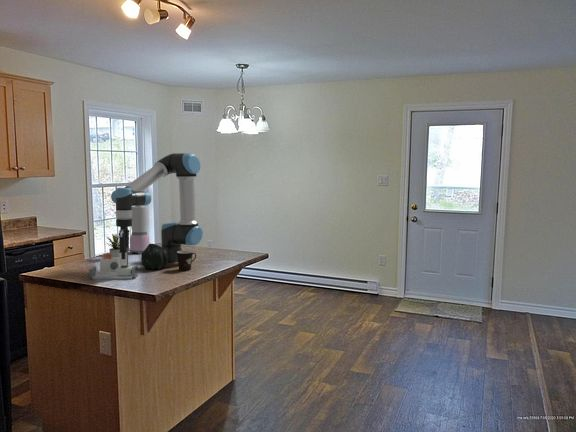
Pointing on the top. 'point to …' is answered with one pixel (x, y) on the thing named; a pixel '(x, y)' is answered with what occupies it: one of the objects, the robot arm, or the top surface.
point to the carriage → (124, 268)
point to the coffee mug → (185, 260)
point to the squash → (154, 257)
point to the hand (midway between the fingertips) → (124, 264)
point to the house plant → (114, 246)
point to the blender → (139, 229)
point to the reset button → (107, 255)
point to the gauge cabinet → (110, 264)
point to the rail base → (111, 274)
